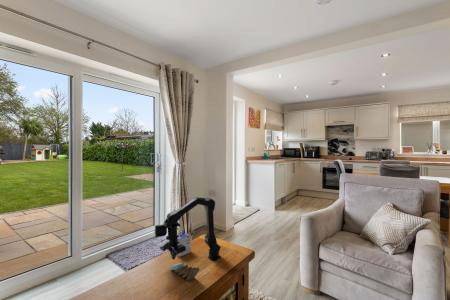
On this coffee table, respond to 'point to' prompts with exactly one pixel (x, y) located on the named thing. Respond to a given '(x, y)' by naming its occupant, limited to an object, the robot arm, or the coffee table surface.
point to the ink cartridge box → (184, 243)
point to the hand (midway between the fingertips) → (173, 259)
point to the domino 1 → (177, 266)
